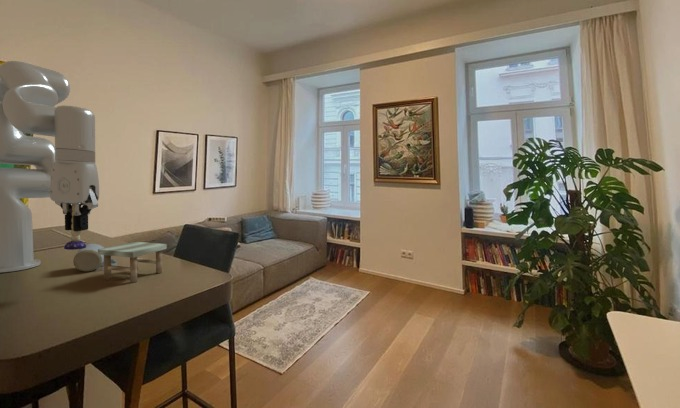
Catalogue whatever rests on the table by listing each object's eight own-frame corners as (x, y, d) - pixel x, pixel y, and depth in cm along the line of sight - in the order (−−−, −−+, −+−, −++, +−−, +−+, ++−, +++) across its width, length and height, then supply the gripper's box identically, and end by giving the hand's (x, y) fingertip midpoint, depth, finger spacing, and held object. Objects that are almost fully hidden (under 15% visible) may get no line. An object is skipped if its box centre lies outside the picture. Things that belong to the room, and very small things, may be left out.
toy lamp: (75, 245, 78) (74, 182, 76) (93, 246, 78) (93, 183, 77) (59, 249, 73) (58, 182, 72) (79, 250, 73) (79, 183, 72)
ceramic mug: (71, 274, 89) (71, 249, 89) (77, 267, 96) (77, 244, 95) (115, 270, 95) (115, 246, 94) (118, 263, 102) (118, 242, 101)
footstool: (98, 280, 84) (97, 249, 84) (135, 268, 96) (134, 241, 96) (133, 284, 82) (133, 252, 82) (166, 271, 94) (166, 244, 93)
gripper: (33, 155, 71) (35, 229, 73) (85, 157, 68) (86, 235, 70) (67, 157, 79) (68, 225, 80) (116, 160, 76) (116, 230, 77)
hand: (76, 229), depth 75 cm, fingers closed on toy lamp
